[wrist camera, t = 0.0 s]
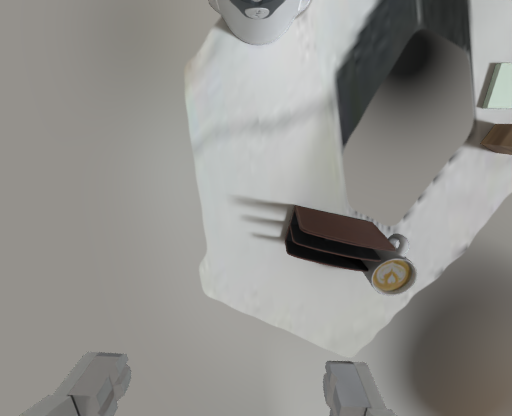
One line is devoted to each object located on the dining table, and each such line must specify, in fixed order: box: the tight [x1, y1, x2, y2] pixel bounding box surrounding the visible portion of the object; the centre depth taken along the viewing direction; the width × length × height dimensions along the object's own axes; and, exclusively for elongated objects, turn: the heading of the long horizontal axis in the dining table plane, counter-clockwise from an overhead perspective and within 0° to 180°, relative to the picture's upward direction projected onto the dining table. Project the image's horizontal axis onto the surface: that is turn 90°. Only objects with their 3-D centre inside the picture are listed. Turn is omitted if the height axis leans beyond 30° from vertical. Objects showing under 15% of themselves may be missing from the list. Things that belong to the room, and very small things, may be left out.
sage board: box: [482, 63, 512, 109], centre depth 47 cm, size 8×8×1 cm
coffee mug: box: [361, 234, 417, 296], centre depth 57 cm, size 13×10×10 cm
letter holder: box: [285, 205, 396, 272], centre depth 53 cm, size 10×20×14 cm, turn 78°
